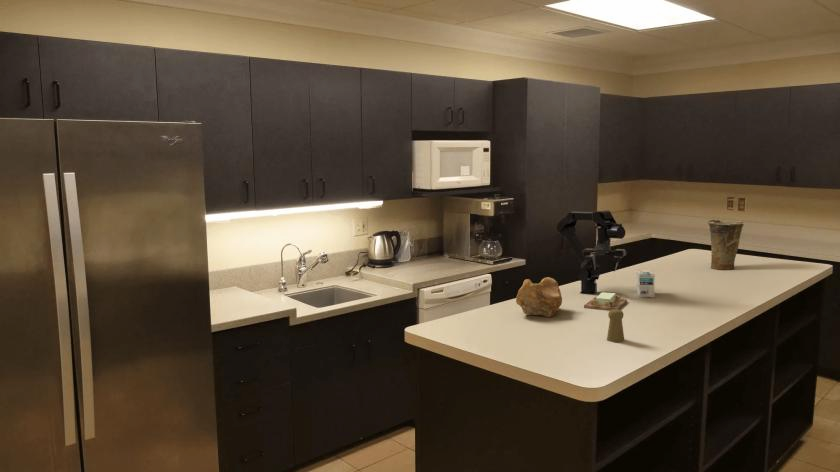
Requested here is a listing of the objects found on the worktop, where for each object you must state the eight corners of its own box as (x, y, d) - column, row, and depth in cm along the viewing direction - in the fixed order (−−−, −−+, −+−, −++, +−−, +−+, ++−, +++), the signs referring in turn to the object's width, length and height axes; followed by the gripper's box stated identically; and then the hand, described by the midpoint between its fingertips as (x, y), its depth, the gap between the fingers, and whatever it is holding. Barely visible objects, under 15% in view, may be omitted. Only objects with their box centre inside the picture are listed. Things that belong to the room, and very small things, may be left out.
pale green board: (595, 304, 272) (595, 298, 272) (601, 298, 283) (602, 292, 282) (609, 305, 269) (609, 299, 269) (615, 299, 280) (615, 293, 279)
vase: (706, 264, 363) (708, 218, 359) (741, 266, 355) (743, 219, 351) (705, 270, 347) (707, 222, 343) (742, 272, 339) (744, 222, 335)
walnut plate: (584, 307, 272) (584, 300, 272) (595, 299, 287) (595, 292, 287) (616, 311, 265) (616, 303, 265) (627, 302, 280) (627, 295, 280)
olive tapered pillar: (604, 337, 228) (604, 308, 226) (620, 337, 228) (620, 307, 227) (610, 342, 222) (610, 312, 221) (627, 341, 222) (627, 311, 221)
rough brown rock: (541, 325, 251) (545, 288, 248) (509, 314, 263) (512, 279, 260) (575, 315, 266) (578, 281, 264) (543, 306, 278) (546, 273, 276)
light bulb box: (654, 297, 287) (655, 274, 286) (639, 297, 289) (639, 274, 287) (650, 292, 298) (651, 270, 296) (636, 292, 299) (636, 270, 298)
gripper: (578, 239, 288) (579, 272, 289) (619, 239, 278) (620, 274, 280) (585, 236, 297) (586, 269, 299) (626, 237, 288) (626, 270, 289)
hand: (604, 270), depth 291 cm, fingers open, 9 cm apart
